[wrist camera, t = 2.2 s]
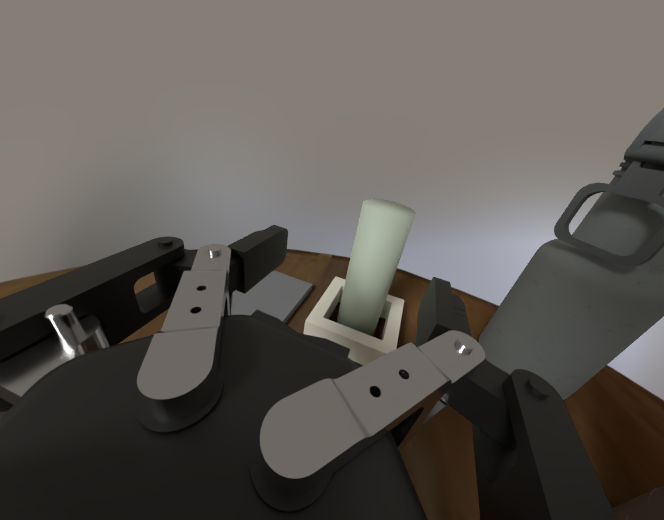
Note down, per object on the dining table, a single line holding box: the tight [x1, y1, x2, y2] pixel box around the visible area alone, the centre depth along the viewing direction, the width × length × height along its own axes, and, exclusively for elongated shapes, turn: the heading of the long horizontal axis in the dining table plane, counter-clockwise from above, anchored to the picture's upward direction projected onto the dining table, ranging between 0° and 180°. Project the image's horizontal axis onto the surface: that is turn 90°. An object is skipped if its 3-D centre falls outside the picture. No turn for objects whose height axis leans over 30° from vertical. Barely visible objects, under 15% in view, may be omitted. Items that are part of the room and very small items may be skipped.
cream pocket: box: [304, 277, 404, 365], centre depth 30 cm, size 10×10×3 cm
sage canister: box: [336, 199, 415, 337], centre depth 27 cm, size 5×5×16 cm
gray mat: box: [232, 270, 312, 323], centre depth 32 cm, size 12×12×1 cm
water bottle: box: [478, 108, 664, 400], centre depth 22 cm, size 10×10×28 cm
